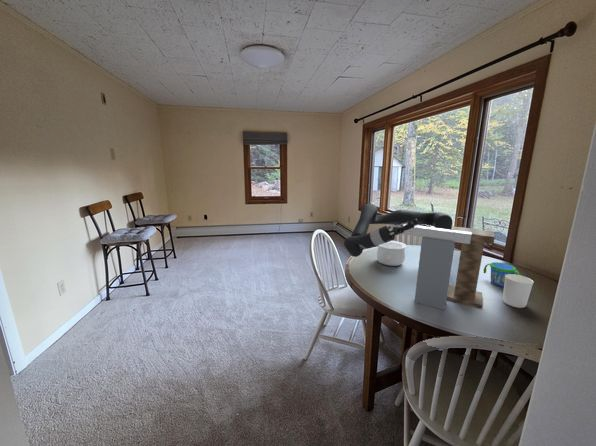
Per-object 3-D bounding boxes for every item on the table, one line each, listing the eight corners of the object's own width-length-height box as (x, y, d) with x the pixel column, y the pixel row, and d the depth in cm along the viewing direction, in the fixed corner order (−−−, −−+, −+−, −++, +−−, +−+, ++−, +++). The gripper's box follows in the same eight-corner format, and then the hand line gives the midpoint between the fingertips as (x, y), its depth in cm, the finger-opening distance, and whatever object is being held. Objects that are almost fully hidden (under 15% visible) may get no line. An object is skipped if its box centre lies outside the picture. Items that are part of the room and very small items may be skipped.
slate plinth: (414, 301, 120) (422, 238, 113) (417, 294, 126) (425, 234, 120) (444, 310, 113) (454, 243, 107) (446, 302, 120) (455, 238, 113)
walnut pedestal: (440, 297, 123) (450, 231, 116) (443, 286, 135) (452, 225, 128) (481, 308, 115) (494, 237, 108) (481, 295, 126) (493, 230, 119)
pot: (384, 255, 180) (385, 238, 178) (410, 261, 169) (412, 243, 167) (369, 264, 164) (370, 245, 162) (396, 271, 153) (398, 251, 150)
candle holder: (494, 298, 124) (499, 274, 121) (514, 297, 125) (519, 273, 122) (513, 309, 114) (518, 283, 112) (534, 308, 115) (539, 283, 113)
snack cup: (522, 288, 134) (526, 269, 132) (511, 292, 130) (515, 273, 127) (489, 276, 148) (492, 259, 146) (477, 280, 143) (481, 262, 141)
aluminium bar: (401, 234, 119) (402, 225, 118) (403, 232, 123) (404, 223, 122) (469, 244, 105) (471, 234, 104) (470, 241, 109) (471, 232, 108)
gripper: (374, 231, 121) (408, 217, 112) (383, 225, 133) (415, 212, 123) (381, 246, 120) (416, 234, 111) (389, 239, 132) (422, 227, 123)
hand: (415, 222), depth 117 cm, fingers open, 8 cm apart
